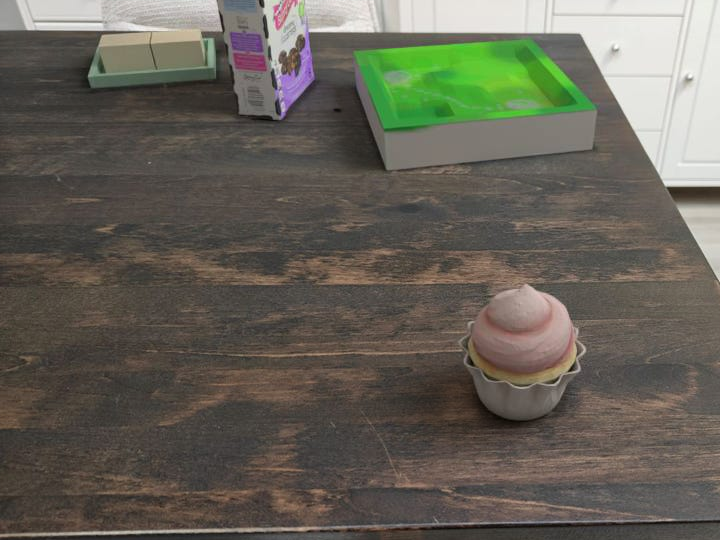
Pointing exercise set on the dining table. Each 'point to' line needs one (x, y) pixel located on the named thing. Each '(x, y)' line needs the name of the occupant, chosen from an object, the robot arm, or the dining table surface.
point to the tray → (470, 103)
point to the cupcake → (522, 353)
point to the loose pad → (127, 52)
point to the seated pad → (178, 49)
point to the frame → (153, 72)
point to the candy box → (266, 54)
